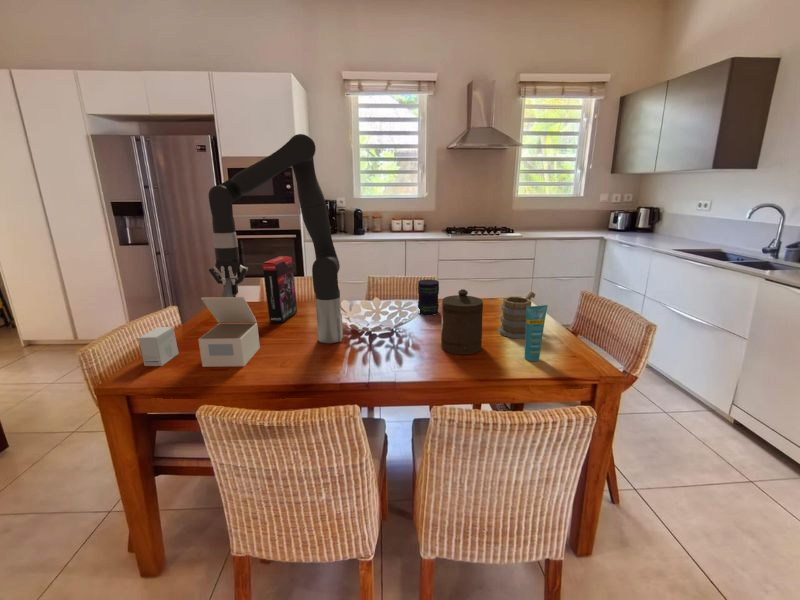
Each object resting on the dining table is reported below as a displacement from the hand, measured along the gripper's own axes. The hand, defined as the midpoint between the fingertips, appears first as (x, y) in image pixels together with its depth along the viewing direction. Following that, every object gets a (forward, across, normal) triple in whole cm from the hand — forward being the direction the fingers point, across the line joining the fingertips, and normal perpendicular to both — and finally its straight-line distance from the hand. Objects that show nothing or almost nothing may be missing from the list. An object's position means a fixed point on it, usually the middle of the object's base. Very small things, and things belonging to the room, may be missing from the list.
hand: (231, 294), depth 142 cm
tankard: (+21, -109, -19) cm, 113 cm away
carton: (+21, 0, +5) cm, 22 cm away
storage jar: (+20, -73, -45) cm, 88 cm away
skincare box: (+22, +24, +7) cm, 33 cm away
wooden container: (+21, -82, -2) cm, 85 cm away
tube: (+21, -105, +9) cm, 108 cm away
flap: (+5, 0, +3) cm, 6 cm away
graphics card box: (+20, -6, -39) cm, 45 cm away
